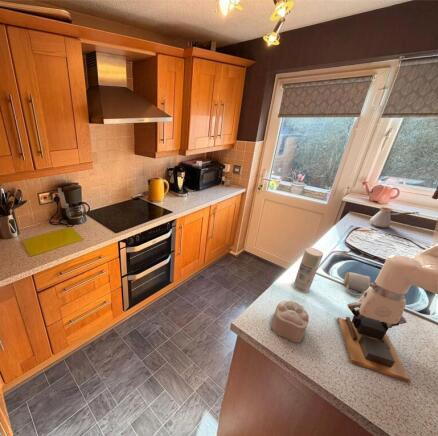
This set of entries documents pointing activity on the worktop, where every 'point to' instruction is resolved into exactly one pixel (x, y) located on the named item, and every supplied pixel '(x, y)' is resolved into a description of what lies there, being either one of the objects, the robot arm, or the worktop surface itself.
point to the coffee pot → (384, 217)
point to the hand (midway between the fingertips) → (367, 328)
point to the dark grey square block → (371, 328)
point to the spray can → (307, 269)
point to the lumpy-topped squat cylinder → (290, 320)
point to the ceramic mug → (356, 283)
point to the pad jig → (371, 351)
